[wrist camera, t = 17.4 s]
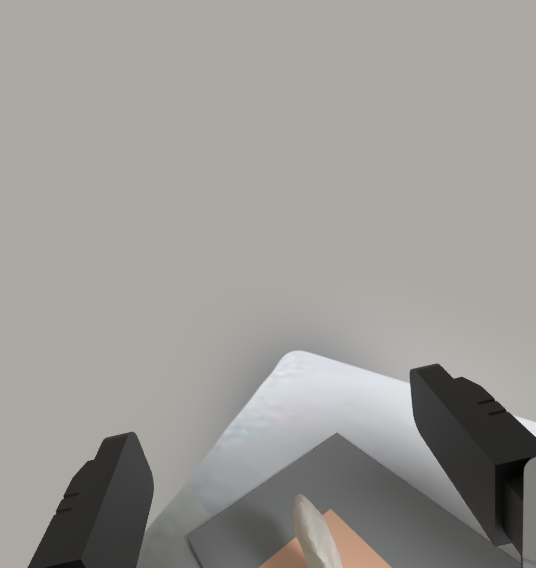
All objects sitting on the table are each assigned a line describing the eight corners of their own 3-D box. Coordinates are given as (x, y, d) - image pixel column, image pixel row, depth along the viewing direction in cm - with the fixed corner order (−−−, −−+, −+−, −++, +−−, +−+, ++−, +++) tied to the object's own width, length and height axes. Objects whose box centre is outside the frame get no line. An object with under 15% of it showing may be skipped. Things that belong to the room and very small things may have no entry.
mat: (560, 600, 25) (561, 591, 25) (377, 901, 16) (375, 892, 16) (337, 438, 42) (336, 431, 42) (189, 542, 33) (186, 535, 33)
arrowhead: (293, 554, 30) (272, 454, 27) (323, 542, 30) (306, 443, 27) (333, 679, 22) (311, 562, 19) (372, 662, 23) (357, 545, 20)
